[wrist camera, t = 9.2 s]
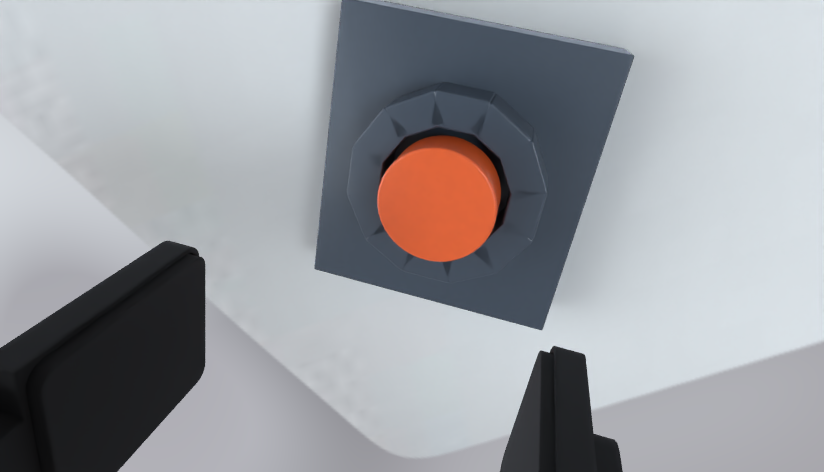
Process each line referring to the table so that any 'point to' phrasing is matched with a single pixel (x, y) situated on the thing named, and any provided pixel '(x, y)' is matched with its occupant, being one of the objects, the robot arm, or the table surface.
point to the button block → (476, 123)
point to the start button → (440, 198)
